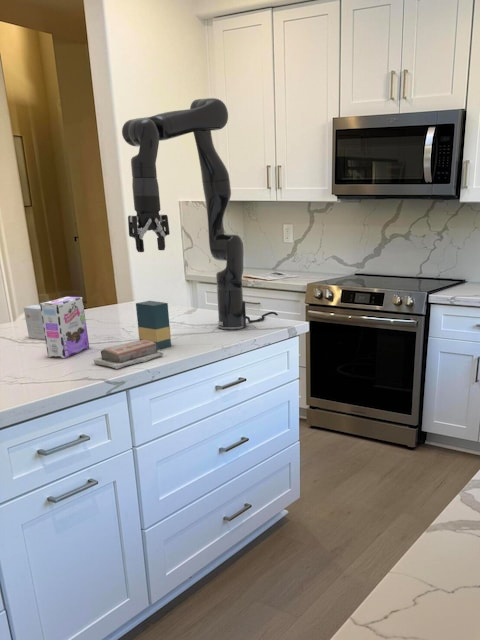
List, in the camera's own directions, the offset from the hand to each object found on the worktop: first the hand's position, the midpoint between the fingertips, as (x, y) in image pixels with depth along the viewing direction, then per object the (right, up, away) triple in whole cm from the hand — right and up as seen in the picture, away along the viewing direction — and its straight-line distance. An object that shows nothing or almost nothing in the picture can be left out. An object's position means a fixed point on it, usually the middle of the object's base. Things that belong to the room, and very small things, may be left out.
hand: (151, 251), depth 186 cm
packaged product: (-5, -34, -5) cm, 35 cm away
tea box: (-2, -21, +10) cm, 23 cm away
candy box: (-26, -31, +3) cm, 41 cm away
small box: (-44, -23, +22) cm, 54 cm away
